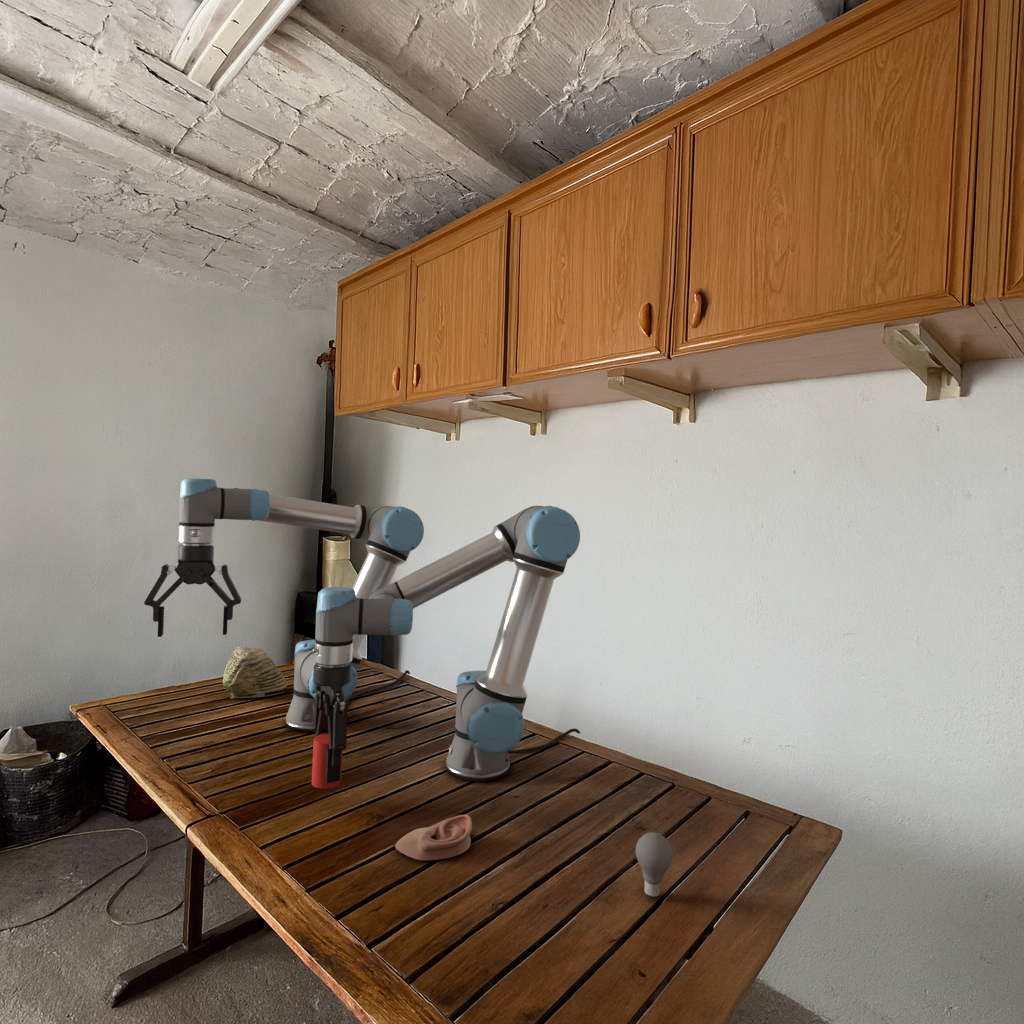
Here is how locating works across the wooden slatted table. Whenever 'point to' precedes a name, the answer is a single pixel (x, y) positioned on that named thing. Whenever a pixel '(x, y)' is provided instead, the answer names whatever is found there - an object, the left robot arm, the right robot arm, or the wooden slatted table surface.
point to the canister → (322, 762)
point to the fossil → (252, 674)
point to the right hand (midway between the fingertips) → (327, 774)
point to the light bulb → (653, 860)
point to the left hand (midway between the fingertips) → (193, 634)
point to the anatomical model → (438, 839)
